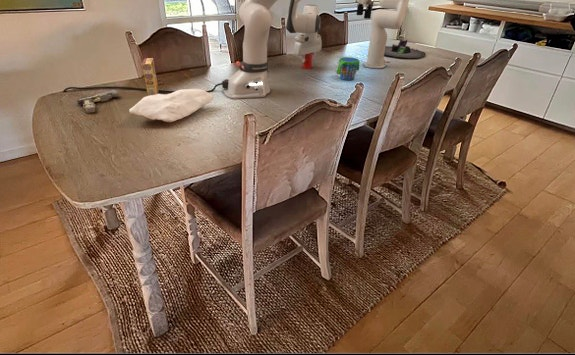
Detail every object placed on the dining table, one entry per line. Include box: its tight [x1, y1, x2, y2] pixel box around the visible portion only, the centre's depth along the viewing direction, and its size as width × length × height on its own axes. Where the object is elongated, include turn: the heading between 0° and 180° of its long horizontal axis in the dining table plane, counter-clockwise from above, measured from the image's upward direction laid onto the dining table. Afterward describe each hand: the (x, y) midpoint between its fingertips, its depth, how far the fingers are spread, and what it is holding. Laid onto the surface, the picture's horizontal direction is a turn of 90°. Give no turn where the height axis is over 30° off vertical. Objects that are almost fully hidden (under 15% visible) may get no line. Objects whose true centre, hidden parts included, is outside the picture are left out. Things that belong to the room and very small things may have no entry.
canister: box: [302, 53, 313, 70], centre depth 211 cm, size 5×5×9 cm
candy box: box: [141, 57, 160, 96], centre depth 163 cm, size 9×4×15 cm, turn 13°
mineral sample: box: [384, 38, 427, 59], centre depth 250 cm, size 35×35×9 cm
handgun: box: [76, 89, 120, 114], centre depth 155 cm, size 3×18×15 cm
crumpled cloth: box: [129, 88, 214, 123], centre depth 147 cm, size 24×35×9 cm
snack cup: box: [336, 56, 361, 81], centre depth 195 cm, size 16×10×10 cm
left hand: (307, 61), depth 211 cm, fingers closed on canister, 5 cm apart
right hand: (363, 16), depth 180 cm, fingers open, 9 cm apart
